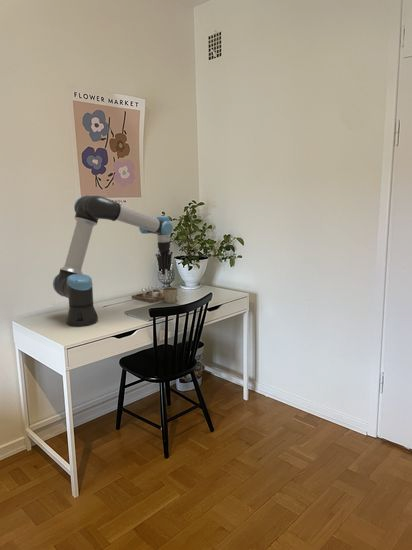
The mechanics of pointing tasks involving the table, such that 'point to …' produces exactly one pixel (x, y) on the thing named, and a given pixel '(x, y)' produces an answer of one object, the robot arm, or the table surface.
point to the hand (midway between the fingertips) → (165, 279)
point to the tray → (148, 298)
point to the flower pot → (170, 294)
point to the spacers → (151, 292)
